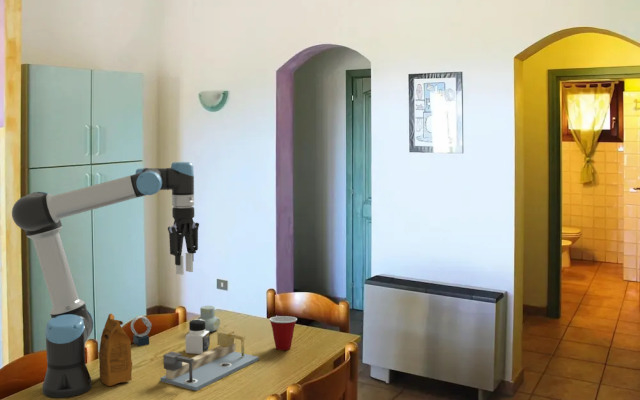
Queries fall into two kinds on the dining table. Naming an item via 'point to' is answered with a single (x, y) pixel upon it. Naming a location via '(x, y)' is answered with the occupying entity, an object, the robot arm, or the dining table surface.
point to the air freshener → (209, 318)
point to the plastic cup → (283, 331)
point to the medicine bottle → (197, 337)
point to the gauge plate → (212, 371)
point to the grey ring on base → (142, 338)
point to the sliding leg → (229, 339)
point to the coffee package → (114, 353)
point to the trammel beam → (192, 361)
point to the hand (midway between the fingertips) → (184, 272)
